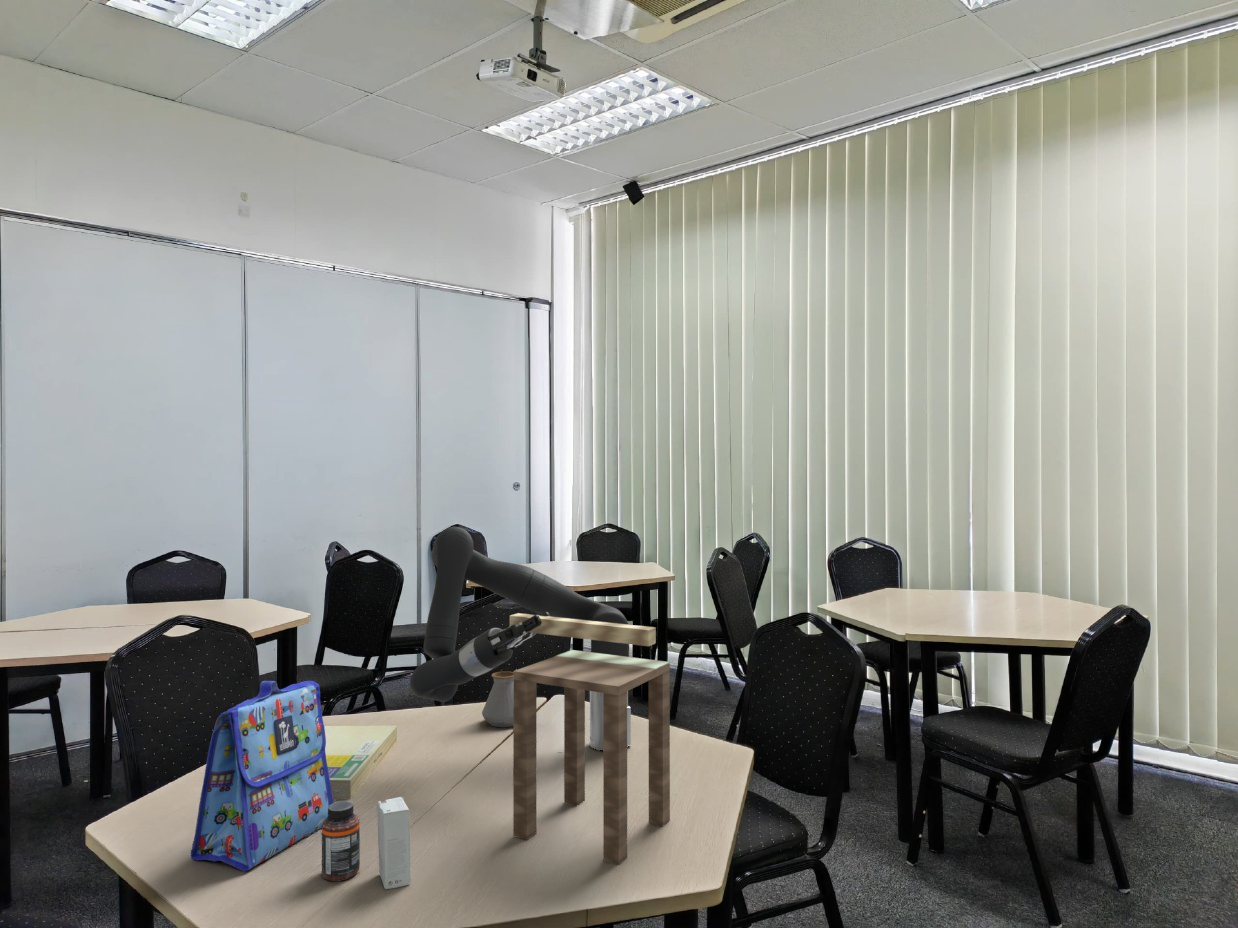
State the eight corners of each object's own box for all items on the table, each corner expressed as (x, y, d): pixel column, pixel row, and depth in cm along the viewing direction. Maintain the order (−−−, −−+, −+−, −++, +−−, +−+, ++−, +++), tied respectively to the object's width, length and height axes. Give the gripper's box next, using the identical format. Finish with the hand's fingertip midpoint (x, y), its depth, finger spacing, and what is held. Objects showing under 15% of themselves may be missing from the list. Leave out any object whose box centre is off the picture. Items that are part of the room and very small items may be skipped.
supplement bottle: (327, 865, 135) (327, 798, 136) (363, 864, 136) (363, 796, 136) (316, 883, 129) (317, 812, 130) (354, 881, 130) (355, 811, 130)
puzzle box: (398, 743, 199) (301, 742, 199) (398, 724, 199) (301, 724, 199) (349, 803, 163) (231, 802, 163) (349, 780, 163) (231, 779, 163)
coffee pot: (481, 730, 207) (481, 672, 207) (482, 717, 218) (482, 661, 218) (564, 726, 210) (564, 669, 210) (560, 713, 222) (560, 659, 222)
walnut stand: (513, 836, 146) (513, 670, 147) (572, 797, 164) (572, 649, 164) (618, 864, 136) (618, 686, 136) (669, 820, 153) (669, 661, 153)
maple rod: (509, 630, 165) (509, 615, 165) (518, 627, 168) (518, 613, 168) (648, 646, 150) (648, 630, 150) (655, 643, 152) (655, 627, 152)
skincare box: (411, 884, 129) (412, 808, 129) (383, 890, 127) (383, 813, 127) (404, 867, 135) (404, 795, 135) (376, 873, 133) (376, 799, 133)
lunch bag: (249, 874, 133) (250, 698, 133) (187, 860, 137) (188, 691, 138) (338, 820, 153) (338, 669, 153) (281, 810, 158) (282, 663, 158)
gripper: (456, 642, 165) (516, 605, 158) (498, 630, 177) (555, 596, 170) (471, 676, 163) (531, 640, 156) (512, 661, 175) (570, 628, 168)
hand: (544, 617), depth 163 cm, fingers closed on maple rod, 3 cm apart
